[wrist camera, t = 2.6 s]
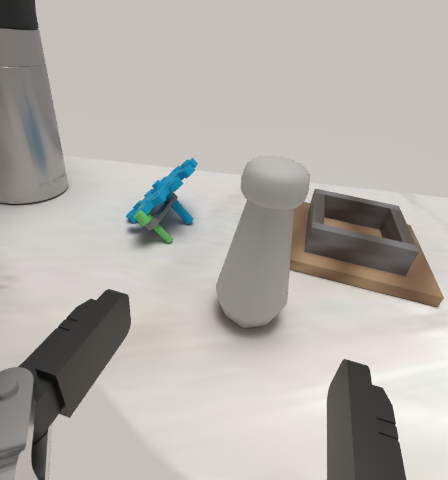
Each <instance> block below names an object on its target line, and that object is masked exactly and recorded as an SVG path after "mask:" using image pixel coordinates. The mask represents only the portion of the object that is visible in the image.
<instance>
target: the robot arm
mask: <svg viewBox="0 0 448 480" xmlns="http://www.w3.org/2000/svg"><path fill="white" fill-rule="evenodd" d="M67 187H68V181H67V175H66V170H65V165H64V159H63V153H62V148H61V143H60V137H59V133H58V127H57V121H56V116H55V111H54V106H53V100H52V95H51V90H50V85H49V79H48V74H47V69H46V64H45V59H44V54H43V48H42V43H41V38H40V33H39V30H38V22H37V17H36V9H35V0H0V202H1V203H10V204H22V203H32V202H38V201H43V200H47V199H50V198H53V197H55V196H57V195H59V194H61V193H62V192H64V191H65V190H66V188H67ZM130 325H131V317H130V306H129V297H128V295H127V294H124V293H121V292H117V291H114V290H110V289H108V290H106V291H105V292H104V293H103V294H102V295H101V296H100V297H99V298H98V299H97V300H93V299H90V300H88V301H86V302H84V303H83V304H81V305H79V306H77V307H76V308H75V309H74V310H73V311H72V313H71V314H70V315H69V316H68V317H67V319H66V320H64V321H63V322H62V323H61V324H60V325H59V326H58V328H57V329H55V330H54V331H53V332H52V333H51V334H50V335H49V336H48V337H47V338H46V339H45V340H44V341H43V343H42V344H41V345H40V346H39V347H38V348H37V349H36V350H35V351H34V352H33V353H32V354H31V355H30V356H29V357H28V358H27V359H26V360H25V361H24V362H23V363H22V364H21V365H20V366H18V367H14V368H9V369H5V370H3V371H1V372H0V480H49V470H50V469H49V468H50V451H51V433H52V422H53V421H54V420H55V418H56V417H57V415H58V414H61V415H64V416H67V417H69V418H70V417H71V415H72V414H73V412H74V411H75V409H76V408H77V407H78V405H79V404H80V402H81V401H82V399H83V398H84V397H85V395H86V394H87V392H88V391H89V389H90V388H91V386H92V385H93V384H94V382H95V381H96V379H97V378H98V376H99V375H100V373H101V372H102V371H103V369H104V368H105V366H106V365H107V363H108V362H109V361H110V359H111V358H112V356H113V355H114V353H115V352H116V350H117V349H118V348H119V346H120V345H121V343H122V342H123V340H124V339H125V337H126V336H127V334H128V332H129V329H130ZM395 424H396V422H395V417H394V412H393V406H392V404H391V402H390V400H389V399H388V397H387V395H386V393H385V391H384V390H383V388H381V387H378V386H375V385H372V382H371V375H370V369H369V367H368V366H367V365H363V364H360V363H356V362H353V361H350V360H346V359H344V360H343V361H342V363H341V365H340V366H339V368H338V370H337V372H336V374H335V376H334V378H333V380H332V382H331V384H330V387H329V391H328V396H327V480H406V476H405V470H404V465H403V460H402V454H401V449H400V444H399V442H398V433H397V428H396V427H395Z"/></svg>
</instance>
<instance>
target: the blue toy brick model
mask: <svg viewBox="0 0 448 480" xmlns="http://www.w3.org/2000/svg"><path fill="white" fill-rule="evenodd" d="M196 166H197V162H196V161H195V160H194V159H193V158H192V159H191V160H186V161H185V162H184V163H183V164H182V165H181V166H178V167H176V168H175V169H174V170H173V171H172V172H171V173H170V174H169V175H168V176H167V177H164V178H163V179H162V180H161V181H159V180H158V181H157V182H155V183H154V184H153V185H152V187H153V188H154V189H151V190H150V191H149V192H147V193H146V194H145V195H144V196H145V198H144V199H143V200H142V201H141V200H140V201H139V202H138V203H137V204H136V205H135V206H134V207H133V210H131V211H130V212H129V213H128V214H127V216H126V217H127V218H128V219H129V220H130V221H131V222H132V223H133V224H134V223H135V222H136V221H138V222H139V223H140V224H141V225H142V226H145V227H146V228H147V229H148V230H149V231H150V230H152V229H154V230H155V231H156V232H157V233H158V234H159V235H160V236H161V237H162V238H163V239H164V240H165V241H166V242H167V243H170V242H171V241H172V240H173V238H172V237H171V236H170V235H169V234H168V233H167V232H166V231H165V230H164V229H163V228H162V227H161V226H160V225H159V224H158V223H159V222H160V221H161V219H162V218H163V217H164V216H165V214H166V213H167V212H168V210H169V209H170V208H172V209H173V210H174V211H175V212H176V213H177V214H178V215H179V216H180V217H181V218H182V219H183V220H184V222H185V223H186V224H189V223H191V222H192V221H193V217H192V216H191V215H190V214H189V213H188V212H187V211H186V210H185V209H184V208H183V206H182V205H181V204H180V203H179V202H178V201H177V198H178V197H177V196H176V195H175V194H174V193H173V192H175V191H176V190H177V189H178V188H179V187H180V186H181V185H182V184H183V182H182V181H181V180H182V179H184V178H188V177H189V176H190V175H191V174H192V173H193V172H194V171H195V169H194V168H195V167H196ZM162 203H164V205H163V206H162V207H161V209H160V210H159V211H158V213H157V214H156V215H154V216H151V215H152V214H153V213H154V211H153V210H152V209H153V207H154V206H155V207H158V206H159V205H161V204H162Z"/></svg>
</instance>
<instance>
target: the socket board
mask: <svg viewBox="0 0 448 480" xmlns="http://www.w3.org/2000/svg"><path fill="white" fill-rule="evenodd" d="M290 270H294V271H298V272H302V273H306V274H310V275H314V276H318V277H322V278H326V279H330V280H333V281H337V282H341V283H345V284H349V285H353V286H357V287H361V288H365V289H369V290H373V291H376V292H380V293H384V294H388V295H392V296H396V297H400V298H404V299H408V300H412V301H416V302H419V303H423V304H427V305H431V306H435V307H438V306H439V304H440V303H441V301H442V300H443V299H444V297H443V295H442V293H441V291H440V288H439V286H438V284H437V282H436V280H435V278H434V275H433V273H432V271H431V269H430V267H429V265H428V262H427V260H426V258H425V256H424V254H423V252H422V249H421V247H420V245H419V243H418V241H417V239H416V236H415V234H414V232H413V230H412V228H411V226H410V225H407V224H406V221H405V219H404V217H403V215H402V212H401V210H400V208H399V206H395V205H391V204H386V203H381V202H376V201H372V200H367V199H362V198H357V197H353V196H348V195H343V194H338V193H333V192H329V191H324V190H319V189H315V190H314V193H313V197H312V200H311V203H306V202H303V204H301V205H300V206H298V207H297V208H294V216H293V229H292V243H291V256H290Z"/></svg>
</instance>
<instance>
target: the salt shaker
mask: <svg viewBox="0 0 448 480" xmlns="http://www.w3.org/2000/svg"><path fill="white" fill-rule="evenodd" d="M309 180H310V175H309V173H308V171H307V170H306V169H305V167H304V166H302V165H301V164H300V163H297V162H295V161H293V160H290V159H287V158H283V157H277V156H261V157H257V158H254V159H252V160H251V161H249V162H248V163H247V165H246V166H245V169H244V172H243V175H242V178H241V190H242V193H243V195H244V196H245V198H246V199H247V202H246V205H245V207H244V210H243V213H242V216H241V218H240V221H239V224H238V227H237V229H236V232H235V235H234V237H233V240H232V243H231V246H230V248H229V251H228V254H227V257H226V259H225V262H224V265H223V267H222V270H221V273H220V276H219V278H218V281H217V284H216V291H217V295H218V299H219V302H220V305H221V307H222V309H223V311H224V313H225V315H226V316H227V317H228V318H229V319H231V320H232V321H234V322H235V323H237V324H238V325H239V326H241V327H242V328H250V327H259V326H265V325H266V324H268V323H269V322H270V321H271V320H272V319H273V318H275V317H276V316H277V315H278V313H279V312H280V311H281V310H282V309H283V308H284V307H285V305H286V303H287V295H288V283H289V270H290V256H291V243H292V229H293V216H294V208H297V207H298V206H300V205H301V204H303V202H304V201H305V199H306V196H307V193H308V190H309Z"/></svg>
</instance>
